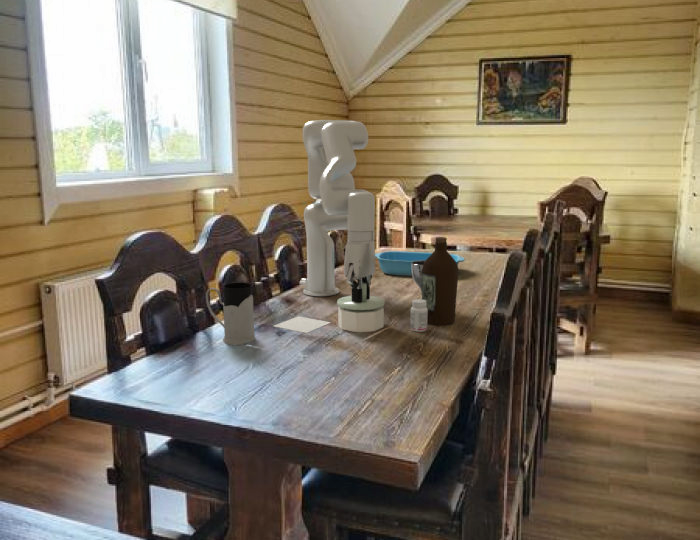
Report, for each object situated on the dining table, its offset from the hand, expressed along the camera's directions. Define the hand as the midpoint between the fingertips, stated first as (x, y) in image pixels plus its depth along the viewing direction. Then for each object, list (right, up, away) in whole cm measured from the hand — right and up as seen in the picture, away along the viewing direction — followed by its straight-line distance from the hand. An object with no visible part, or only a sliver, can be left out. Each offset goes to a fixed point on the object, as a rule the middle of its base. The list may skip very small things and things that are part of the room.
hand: (360, 299), depth 175 cm
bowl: (0, -8, +2) cm, 8 cm away
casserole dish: (+25, +7, +78) cm, 82 cm away
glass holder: (-35, -10, -9) cm, 38 cm away
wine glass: (+20, -4, +21) cm, 30 cm away
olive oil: (+23, -7, +8) cm, 25 cm away
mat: (-17, -8, +3) cm, 19 cm away
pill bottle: (+16, -9, -1) cm, 19 cm away
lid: (0, -1, 0) cm, 1 cm away
